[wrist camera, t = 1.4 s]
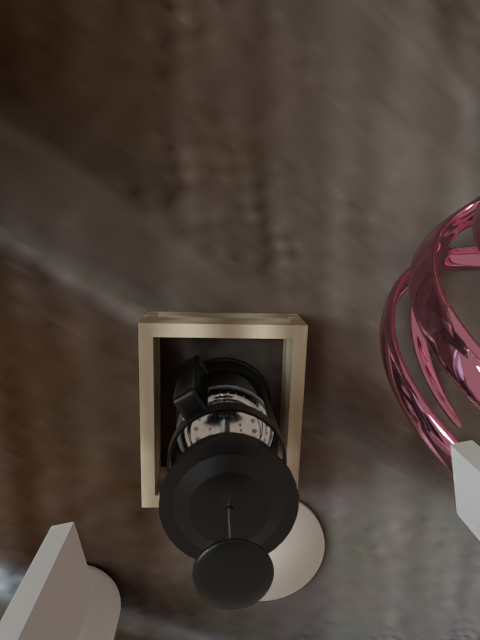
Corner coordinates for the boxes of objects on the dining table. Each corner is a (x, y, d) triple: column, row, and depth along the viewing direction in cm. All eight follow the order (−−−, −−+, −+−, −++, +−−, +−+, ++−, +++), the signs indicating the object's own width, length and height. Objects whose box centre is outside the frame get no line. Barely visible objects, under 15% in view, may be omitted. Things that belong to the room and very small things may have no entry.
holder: (149, 477, 46) (141, 507, 41) (146, 311, 43) (138, 323, 38) (288, 476, 47) (296, 505, 42) (297, 314, 44) (307, 325, 39)
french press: (289, 422, 46) (362, 612, 24) (210, 466, 47) (207, 693, 24) (232, 325, 43) (252, 435, 21) (149, 373, 44) (82, 530, 22)
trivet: (203, 597, 50) (203, 602, 49) (204, 492, 47) (204, 496, 47) (319, 595, 51) (320, 599, 50) (327, 491, 48) (328, 494, 47)
